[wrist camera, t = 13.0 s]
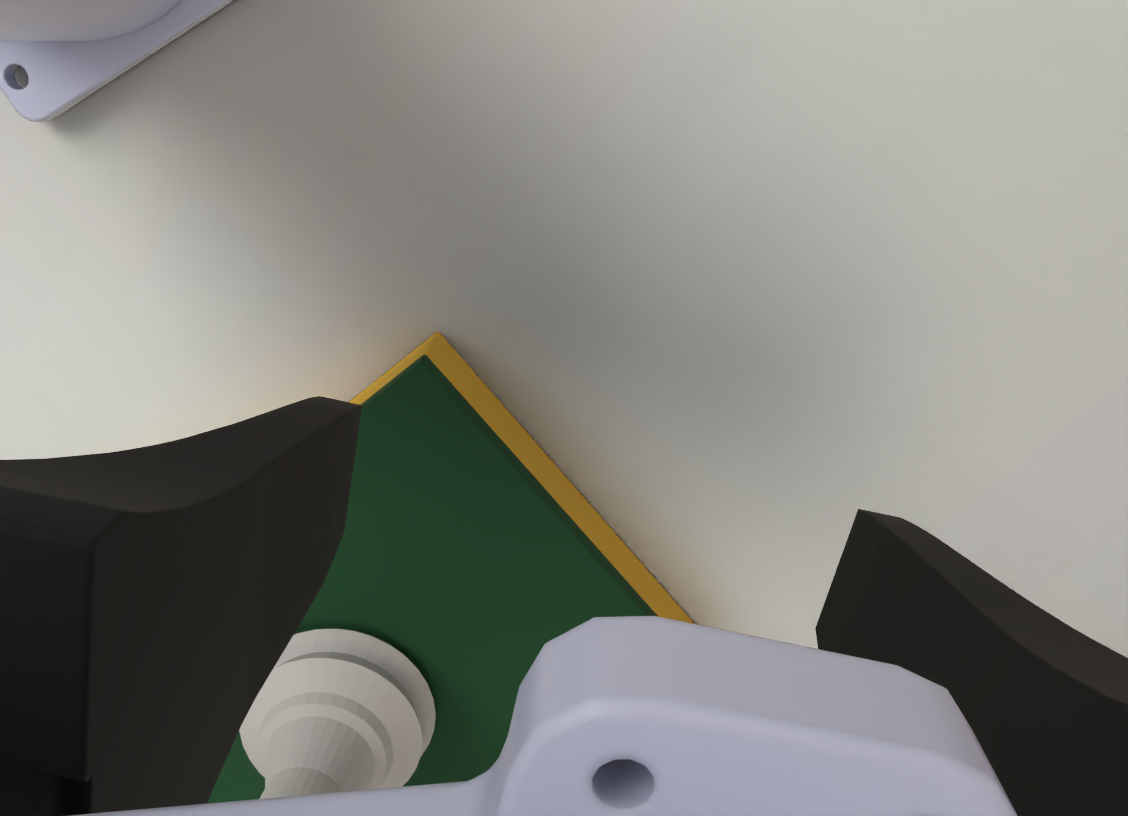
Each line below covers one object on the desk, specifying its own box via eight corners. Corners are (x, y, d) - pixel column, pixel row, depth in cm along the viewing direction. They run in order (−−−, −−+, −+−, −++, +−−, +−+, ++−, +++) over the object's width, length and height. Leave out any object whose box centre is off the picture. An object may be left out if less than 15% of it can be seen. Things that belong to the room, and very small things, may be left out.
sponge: (39, 650, 27) (-13, 705, 25) (438, 329, 23) (420, 360, 21) (312, 890, 30) (288, 959, 27) (709, 639, 26) (719, 696, 24)
